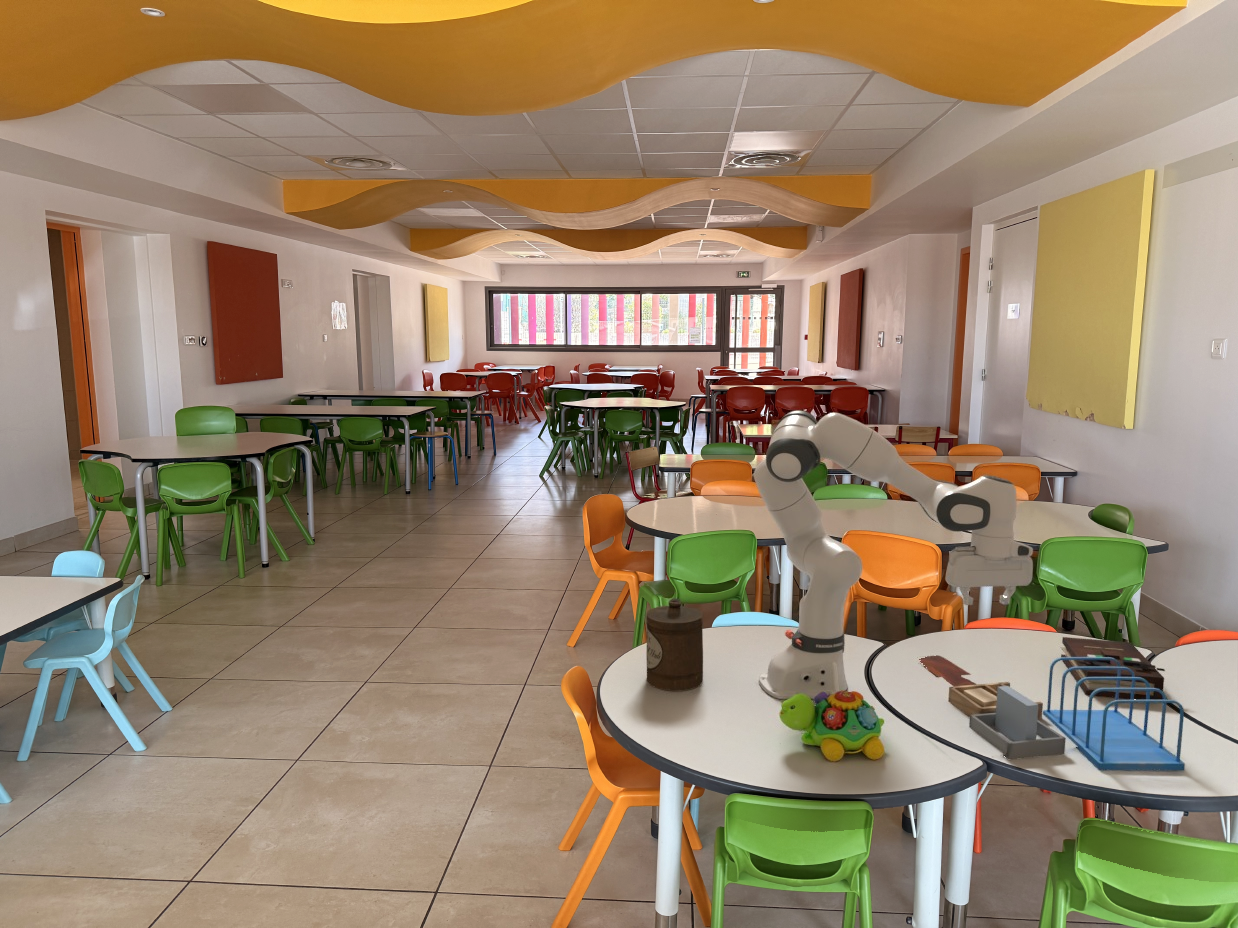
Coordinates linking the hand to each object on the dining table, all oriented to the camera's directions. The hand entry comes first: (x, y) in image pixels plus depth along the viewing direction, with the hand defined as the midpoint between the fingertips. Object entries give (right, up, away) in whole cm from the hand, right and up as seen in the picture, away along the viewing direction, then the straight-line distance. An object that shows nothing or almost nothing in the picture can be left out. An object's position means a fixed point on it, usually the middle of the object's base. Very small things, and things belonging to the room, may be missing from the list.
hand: (986, 604), depth 192 cm
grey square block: (+2, -28, -9) cm, 30 cm away
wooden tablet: (+3, -24, +28) cm, 37 cm away
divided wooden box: (+4, -27, +5) cm, 28 cm away
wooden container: (-71, -25, +25) cm, 79 cm away
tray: (+2, -29, -9) cm, 30 cm away
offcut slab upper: (+1, -24, +4) cm, 24 cm away
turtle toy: (-39, -30, -10) cm, 50 cm away
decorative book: (+43, -25, +25) cm, 55 cm away
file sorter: (+23, -29, -10) cm, 38 cm away
